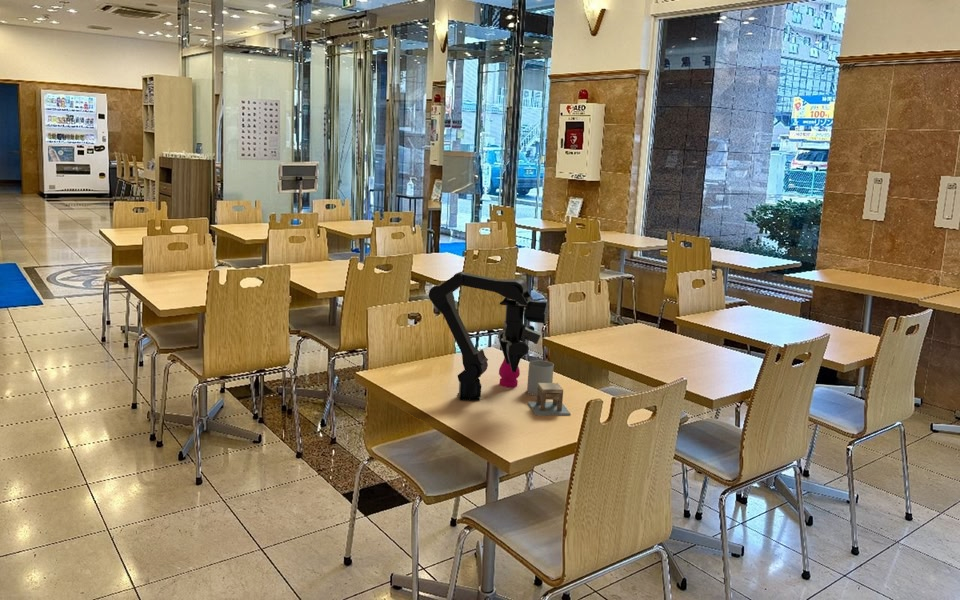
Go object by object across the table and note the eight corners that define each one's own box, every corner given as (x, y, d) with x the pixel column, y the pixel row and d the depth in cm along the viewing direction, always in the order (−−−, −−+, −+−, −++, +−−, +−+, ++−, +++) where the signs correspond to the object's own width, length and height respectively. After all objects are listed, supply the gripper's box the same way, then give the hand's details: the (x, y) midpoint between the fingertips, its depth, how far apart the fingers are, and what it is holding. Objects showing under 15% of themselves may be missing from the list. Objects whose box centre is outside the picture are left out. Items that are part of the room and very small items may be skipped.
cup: (536, 397, 256) (538, 368, 254) (521, 390, 263) (523, 361, 261) (556, 394, 261) (558, 365, 259) (541, 387, 267) (543, 359, 265)
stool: (541, 410, 241) (542, 389, 240) (536, 403, 247) (537, 382, 246) (561, 410, 242) (563, 389, 241) (556, 403, 249) (557, 383, 247)
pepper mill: (498, 387, 264) (502, 330, 260) (497, 381, 271) (501, 325, 267) (519, 388, 264) (523, 331, 260) (518, 382, 271) (522, 326, 268)
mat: (535, 415, 239) (536, 413, 239) (527, 403, 249) (528, 401, 249) (570, 415, 241) (570, 413, 240) (561, 403, 251) (561, 401, 251)
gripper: (546, 327, 235) (542, 376, 238) (532, 313, 253) (529, 359, 256) (510, 326, 233) (507, 376, 236) (499, 313, 251) (496, 359, 254)
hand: (511, 367), depth 245 cm, fingers open, 9 cm apart
